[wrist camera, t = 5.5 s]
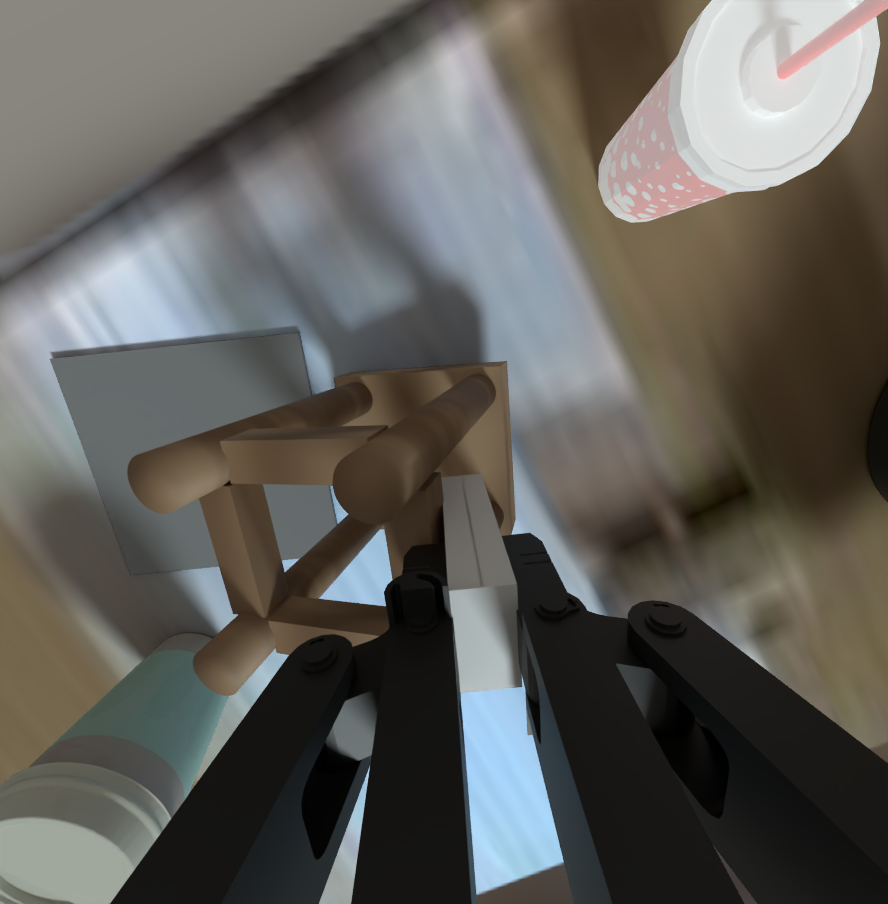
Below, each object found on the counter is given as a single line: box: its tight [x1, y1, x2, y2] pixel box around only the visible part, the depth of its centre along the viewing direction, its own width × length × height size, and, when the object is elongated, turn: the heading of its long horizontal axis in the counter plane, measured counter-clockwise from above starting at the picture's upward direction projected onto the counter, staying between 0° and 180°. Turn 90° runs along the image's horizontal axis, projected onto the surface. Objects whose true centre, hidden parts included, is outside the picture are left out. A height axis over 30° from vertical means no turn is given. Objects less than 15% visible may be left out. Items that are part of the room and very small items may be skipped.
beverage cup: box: [598, 0, 888, 222], centre depth 15 cm, size 6×6×14 cm
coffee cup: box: [0, 633, 229, 904], centre depth 24 cm, size 9×8×12 cm
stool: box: [127, 361, 516, 696], centre depth 18 cm, size 9×9×14 cm
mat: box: [50, 332, 337, 575], centre depth 26 cm, size 14×14×1 cm
